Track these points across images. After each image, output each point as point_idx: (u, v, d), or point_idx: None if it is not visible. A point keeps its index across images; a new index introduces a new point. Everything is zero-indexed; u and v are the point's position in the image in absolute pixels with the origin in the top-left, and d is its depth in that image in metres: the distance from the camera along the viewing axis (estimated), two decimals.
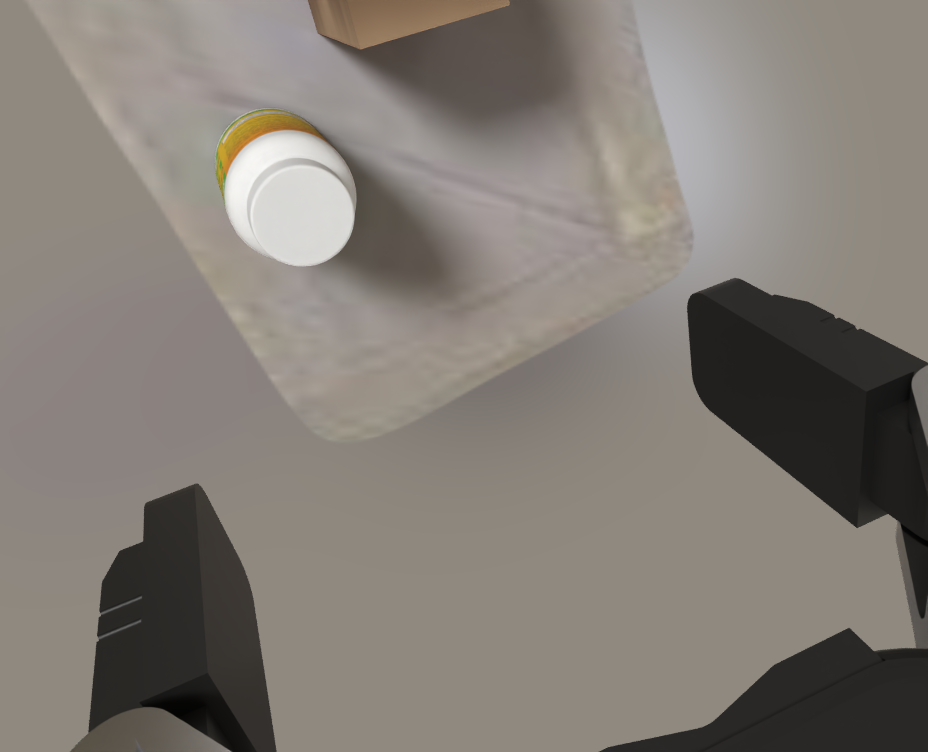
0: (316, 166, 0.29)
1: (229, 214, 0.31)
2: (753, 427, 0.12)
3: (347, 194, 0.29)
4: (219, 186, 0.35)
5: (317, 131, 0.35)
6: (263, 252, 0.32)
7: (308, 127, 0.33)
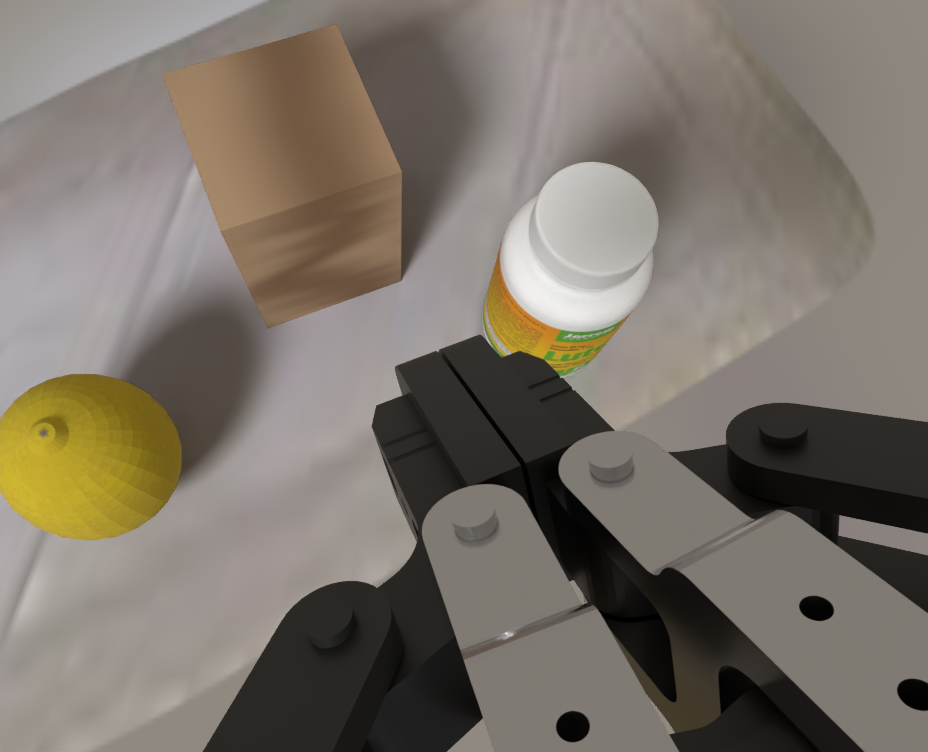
0: (535, 206, 0.24)
1: (604, 321, 0.26)
2: None
3: (563, 170, 0.24)
4: (573, 365, 0.31)
5: None
6: (645, 281, 0.26)
7: None
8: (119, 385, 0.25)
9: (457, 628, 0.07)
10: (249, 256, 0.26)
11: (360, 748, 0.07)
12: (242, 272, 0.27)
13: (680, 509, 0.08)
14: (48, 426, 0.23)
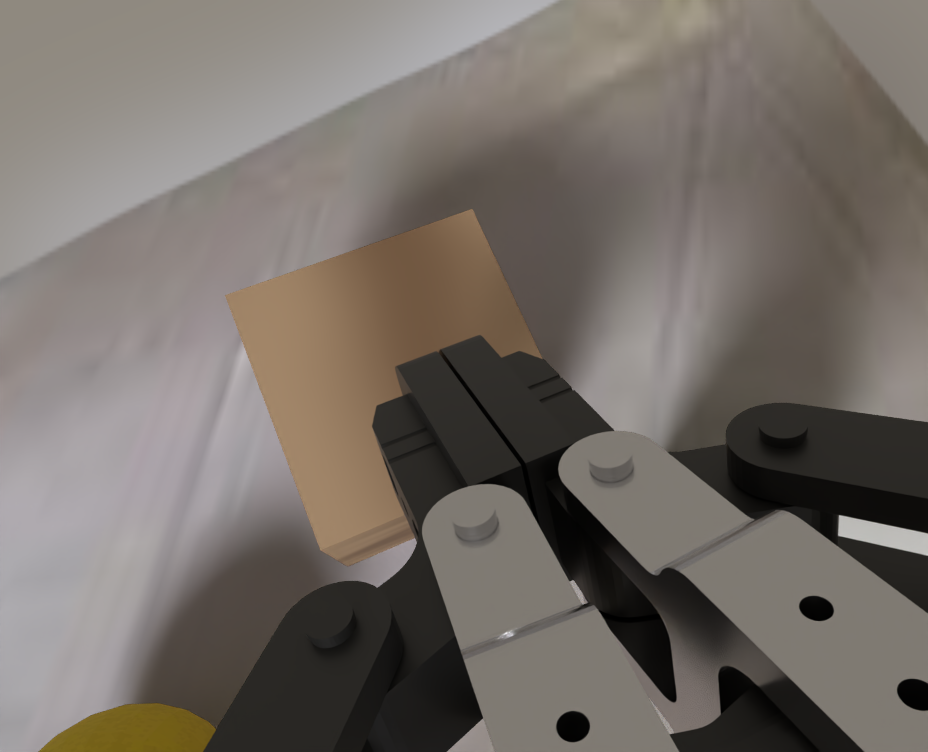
0: None
1: None
2: None
3: None
4: None
5: None
6: None
7: None
8: (164, 749, 0.17)
9: (458, 628, 0.07)
10: (350, 546, 0.18)
11: (360, 748, 0.07)
12: (335, 556, 0.19)
13: (679, 508, 0.08)
14: None
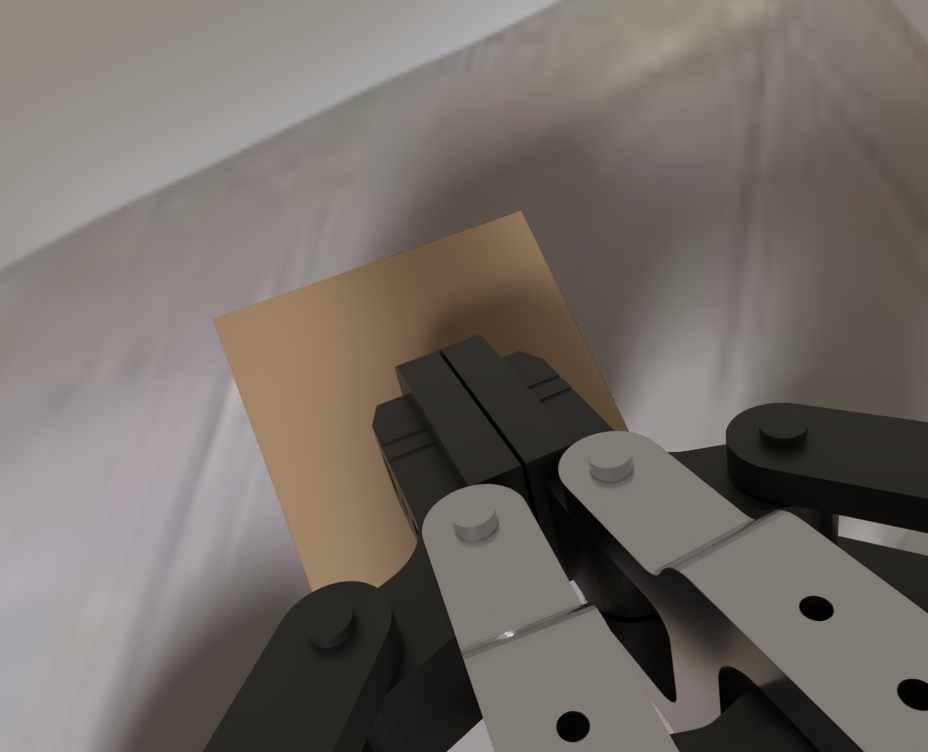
0: None
1: None
2: None
3: None
4: None
5: None
6: None
7: None
8: None
9: (457, 628, 0.07)
10: None
11: (360, 748, 0.07)
12: None
13: (679, 508, 0.08)
14: None
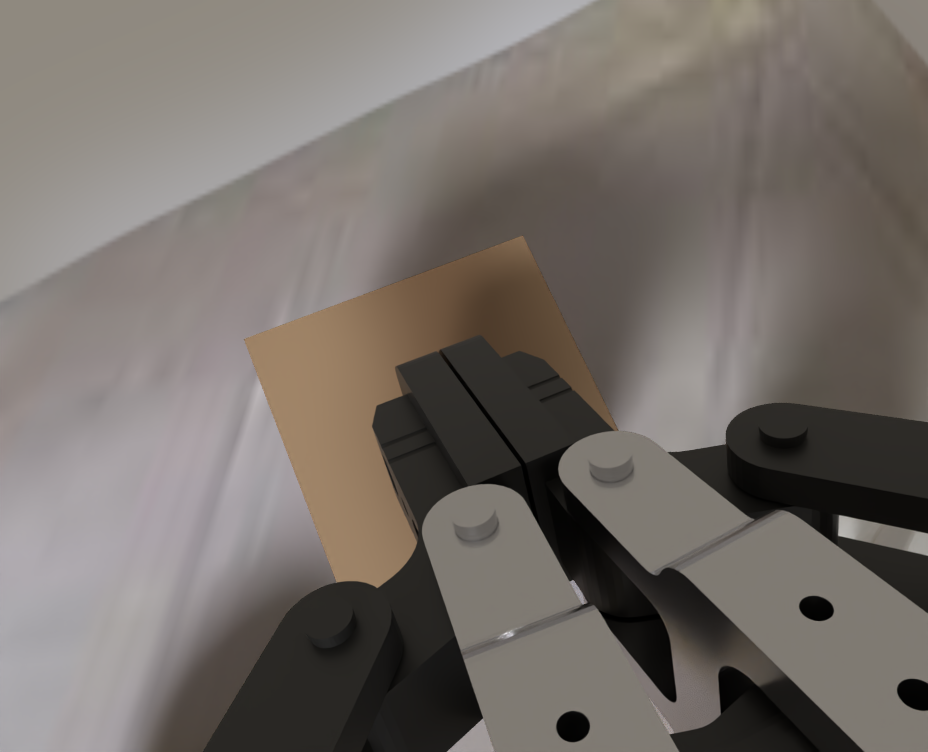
0: None
1: None
2: None
3: None
4: None
5: None
6: None
7: None
8: None
9: (457, 628, 0.07)
10: None
11: (360, 748, 0.07)
12: None
13: (679, 509, 0.08)
14: None
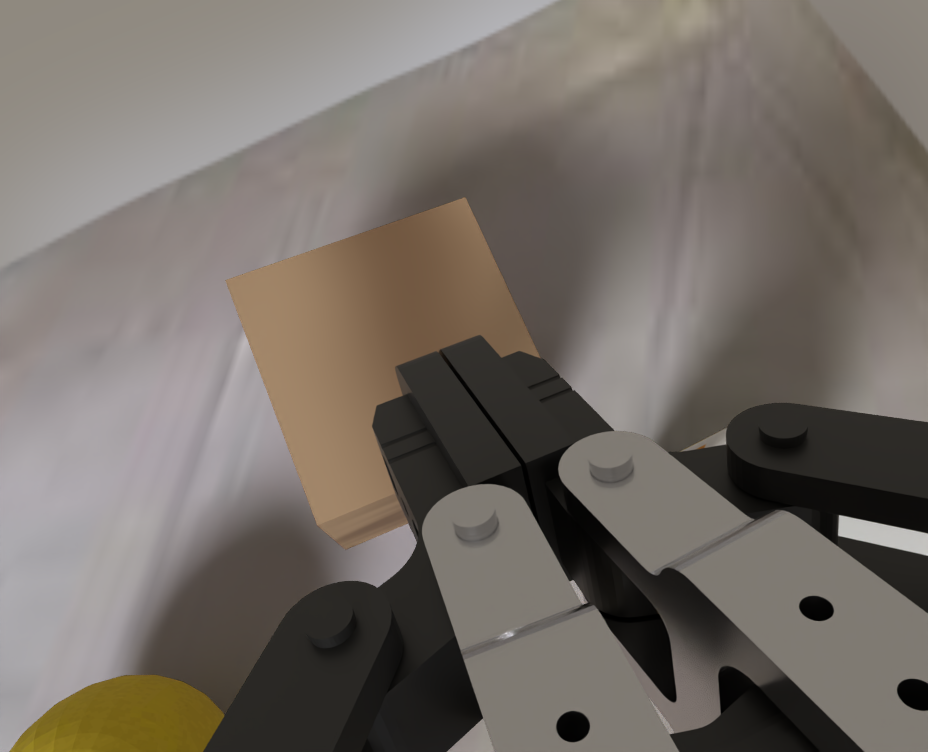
0: None
1: None
2: None
3: None
4: None
5: None
6: None
7: None
8: (162, 716, 0.18)
9: (457, 628, 0.07)
10: (346, 525, 0.19)
11: (360, 748, 0.07)
12: (332, 535, 0.19)
13: (680, 508, 0.08)
14: None
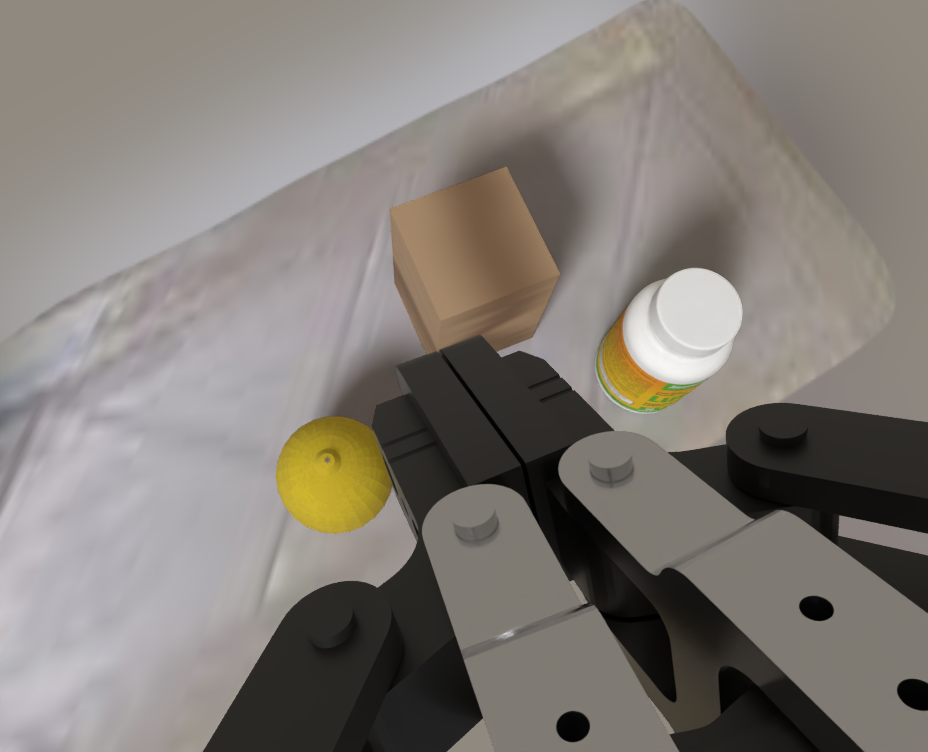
0: (656, 300, 0.35)
1: (700, 377, 0.37)
2: None
3: (675, 274, 0.35)
4: (668, 404, 0.41)
5: None
6: (729, 349, 0.37)
7: (613, 329, 0.40)
8: (360, 424, 0.36)
9: (457, 628, 0.07)
10: (448, 332, 0.37)
11: (360, 748, 0.07)
12: (439, 343, 0.38)
13: (680, 509, 0.08)
14: (329, 455, 0.34)
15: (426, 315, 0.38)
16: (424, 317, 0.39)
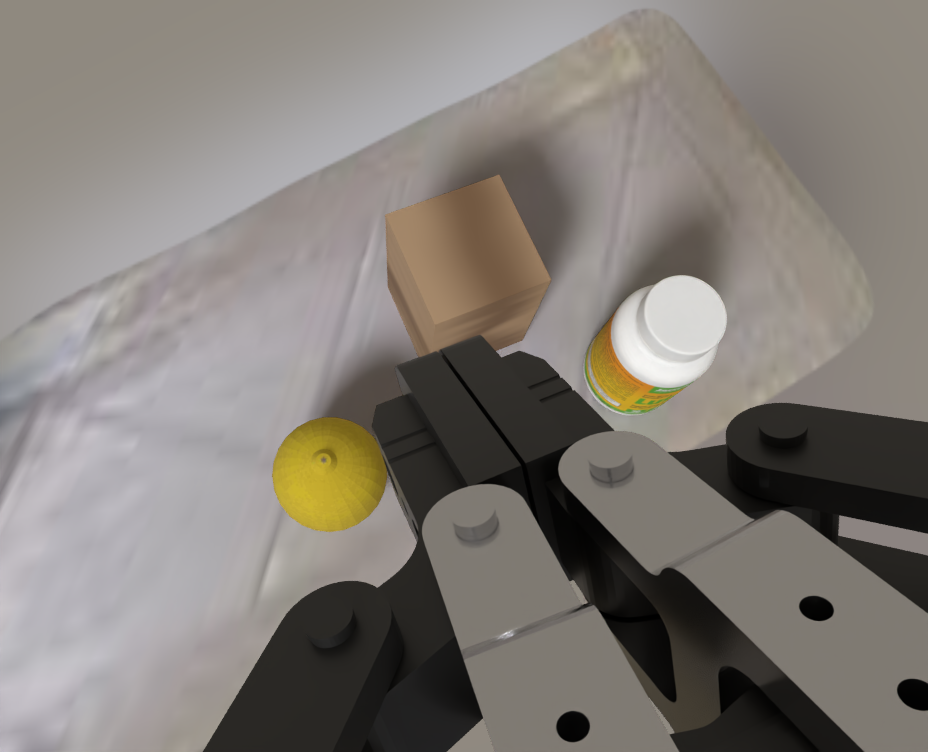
0: (644, 306, 0.36)
1: (686, 381, 0.38)
2: None
3: (662, 281, 0.36)
4: (654, 406, 0.42)
5: None
6: (714, 353, 0.38)
7: (601, 333, 0.41)
8: (355, 425, 0.37)
9: (457, 628, 0.07)
10: (442, 336, 0.38)
11: (360, 747, 0.07)
12: (433, 346, 0.39)
13: (680, 509, 0.08)
14: (326, 455, 0.34)
15: (420, 319, 0.39)
16: (418, 320, 0.40)
